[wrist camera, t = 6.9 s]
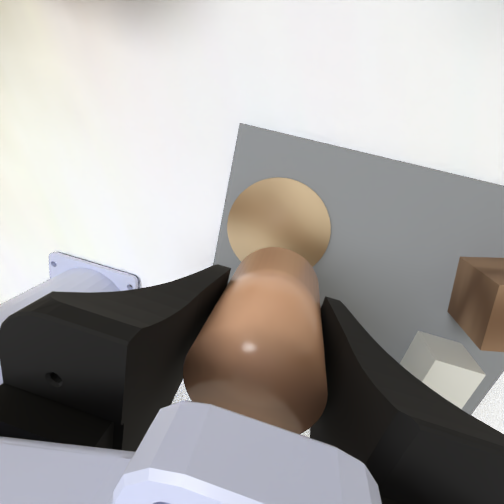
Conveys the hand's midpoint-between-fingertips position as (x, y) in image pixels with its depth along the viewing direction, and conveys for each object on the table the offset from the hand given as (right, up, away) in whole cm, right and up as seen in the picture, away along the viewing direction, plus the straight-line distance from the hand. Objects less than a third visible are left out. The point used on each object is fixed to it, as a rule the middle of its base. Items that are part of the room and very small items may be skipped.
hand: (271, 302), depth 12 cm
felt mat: (+7, 0, +8) cm, 11 cm away
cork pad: (+1, +4, +8) cm, 8 cm away
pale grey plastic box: (+12, -6, +9) cm, 16 cm away
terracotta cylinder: (0, 0, +1) cm, 2 cm away
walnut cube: (+14, 0, +6) cm, 16 cm away
